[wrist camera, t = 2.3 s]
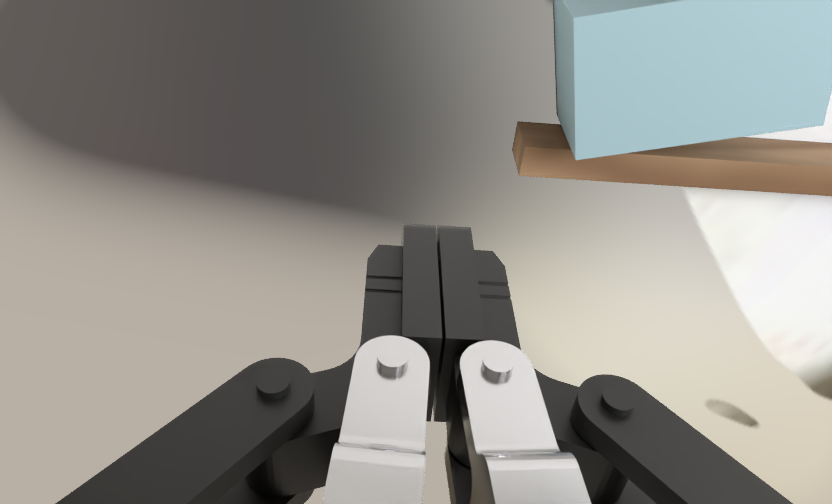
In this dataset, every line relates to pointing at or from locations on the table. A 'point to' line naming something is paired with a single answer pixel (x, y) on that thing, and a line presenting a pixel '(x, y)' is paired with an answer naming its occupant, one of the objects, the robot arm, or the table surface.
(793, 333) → the table surface
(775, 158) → the maze
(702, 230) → the table surface
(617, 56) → the block
